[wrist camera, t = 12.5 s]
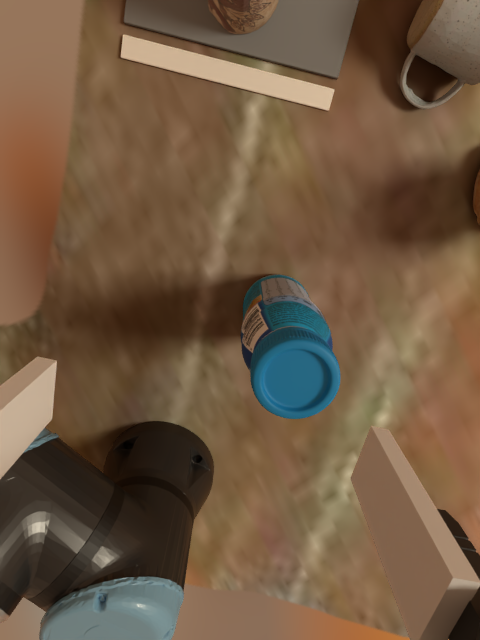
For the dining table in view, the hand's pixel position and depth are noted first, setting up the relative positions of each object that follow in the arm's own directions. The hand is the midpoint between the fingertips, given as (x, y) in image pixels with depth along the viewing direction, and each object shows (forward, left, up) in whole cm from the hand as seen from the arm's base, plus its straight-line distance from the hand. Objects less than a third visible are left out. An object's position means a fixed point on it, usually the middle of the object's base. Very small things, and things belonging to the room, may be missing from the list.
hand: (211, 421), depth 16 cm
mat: (+27, +5, -32) cm, 42 cm away
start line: (+20, +5, -32) cm, 38 cm away
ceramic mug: (+27, -16, -32) cm, 44 cm away
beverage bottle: (-3, -6, -32) cm, 33 cm away
